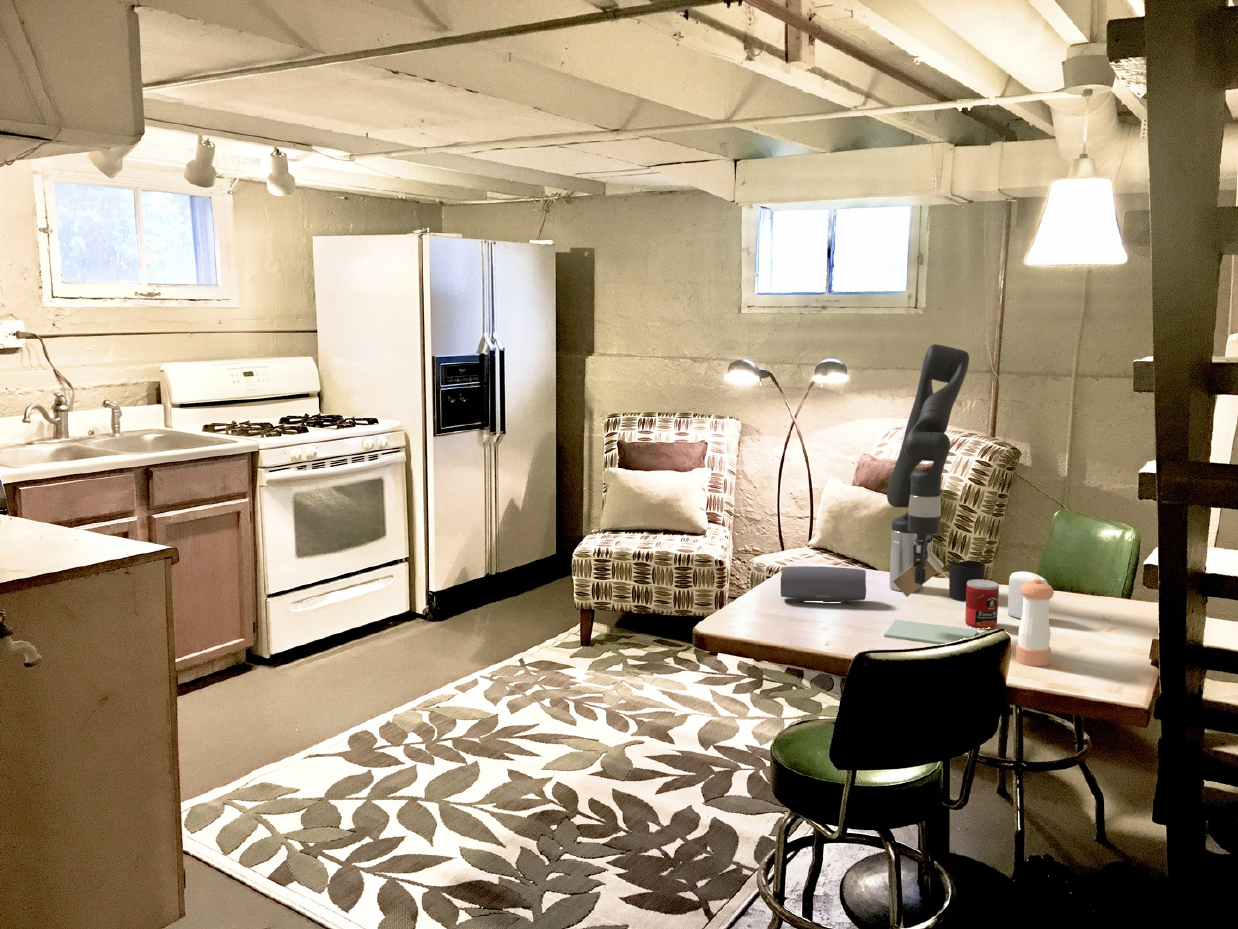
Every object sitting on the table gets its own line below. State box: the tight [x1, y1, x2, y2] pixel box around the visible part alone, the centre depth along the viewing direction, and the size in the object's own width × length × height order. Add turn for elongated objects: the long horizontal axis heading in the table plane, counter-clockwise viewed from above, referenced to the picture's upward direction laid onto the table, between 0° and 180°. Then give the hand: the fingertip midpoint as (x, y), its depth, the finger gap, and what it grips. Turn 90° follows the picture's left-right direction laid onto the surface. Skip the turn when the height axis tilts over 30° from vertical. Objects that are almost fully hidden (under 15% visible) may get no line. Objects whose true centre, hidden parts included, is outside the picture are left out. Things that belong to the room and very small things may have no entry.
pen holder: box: [948, 559, 986, 602], centre depth 277 cm, size 9×9×10 cm
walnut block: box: [893, 551, 945, 598], centre depth 244 cm, size 5×5×11 cm
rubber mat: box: [883, 619, 978, 645], centre depth 244 cm, size 14×20×1 cm
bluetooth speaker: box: [780, 565, 867, 603], centre depth 273 cm, size 23×9×10 cm, turn 82°
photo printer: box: [1007, 571, 1049, 620], centre depth 257 cm, size 10×4×12 cm, turn 29°
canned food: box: [964, 579, 1000, 630], centre depth 252 cm, size 8×8×11 cm
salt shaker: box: [1015, 579, 1055, 667], centre depth 224 cm, size 7×7×19 cm
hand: (921, 580), depth 244 cm, fingers closed on walnut block, 5 cm apart
